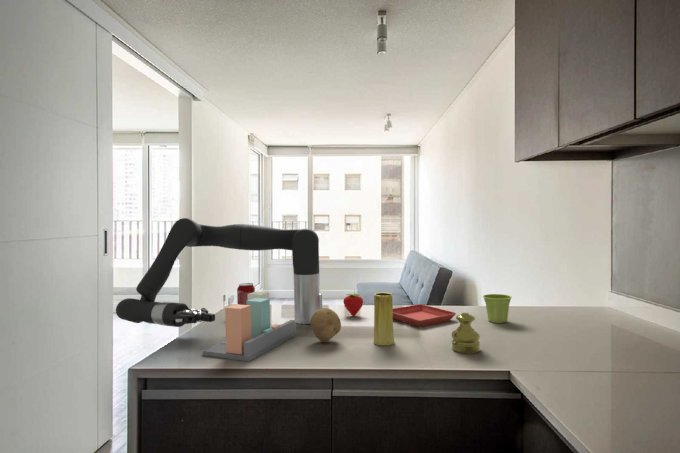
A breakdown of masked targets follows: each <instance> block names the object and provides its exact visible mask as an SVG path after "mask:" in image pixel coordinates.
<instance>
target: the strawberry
mask: <svg viewBox="0 0 680 453" xmlns="http://www.w3.org/2000/svg"><path fill="white" fill-rule="evenodd" d="M353 292H354V293H348V294H346V296H345V297H344V298H343V300H342V301H343V305H344V307H345V310H347V311H348V312H349V313H350V315H351V316H352V317H355V316H356V315H357V314H358V313H359V312H360V310H361V309H362V307H363V304H364V299H363V298H362V296H360V295H359V294H357V293H356V292H355V290H353Z"/></svg>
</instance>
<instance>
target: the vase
mask: <svg viewBox="0 0 680 453" xmlns="http://www.w3.org/2000/svg"><path fill="white" fill-rule="evenodd" d="M373 295H374V298H373V302H374V305H373V306H374V307H373V310H374V313H373V316H374V317H373V319H374V320H373V322H374V323H373V324H374V325H373V326H374V327H373V344H374V345H377V346H380V347H381V346H383V347H386V346H387V347H388V346H393V345H394V344H395V335H394V334H395V333H394V319H393V309H394V307H393V304H394V303H393V293H391V292H376V293H374V294H373Z"/></svg>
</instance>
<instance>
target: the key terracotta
mask: <svg viewBox="0 0 680 453" xmlns="http://www.w3.org/2000/svg"><path fill="white" fill-rule="evenodd" d="M224 314H225V316H224V317H225V318H224V320H225V321H224V322H225V324H224V325H225V327H224V328H225V341H226V353H234V354H244V342H245V341H248V340H250V339H251V305H239V304H231V305H229V306H226V307H224Z"/></svg>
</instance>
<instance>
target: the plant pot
mask: <svg viewBox="0 0 680 453" xmlns="http://www.w3.org/2000/svg"><path fill="white" fill-rule="evenodd" d="M482 298H483V300H484V302H485V308H486V313H487V319H488V322H492V323H493V324H496V323H497V324H503V323H508V317H509V311H510V310H509V308H510V303H511V299H513V298H512V296H511V295H508V294H502V293H501V294H500V293H499V294H498V293H490V294H489V293H488V294H487V293H486V294H483V295H482Z"/></svg>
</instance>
